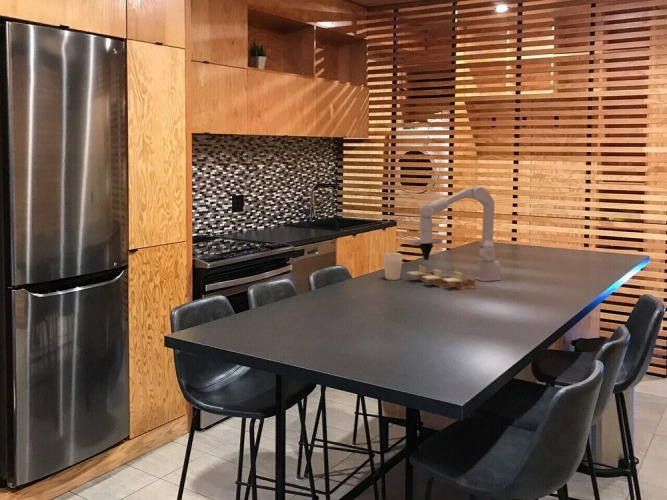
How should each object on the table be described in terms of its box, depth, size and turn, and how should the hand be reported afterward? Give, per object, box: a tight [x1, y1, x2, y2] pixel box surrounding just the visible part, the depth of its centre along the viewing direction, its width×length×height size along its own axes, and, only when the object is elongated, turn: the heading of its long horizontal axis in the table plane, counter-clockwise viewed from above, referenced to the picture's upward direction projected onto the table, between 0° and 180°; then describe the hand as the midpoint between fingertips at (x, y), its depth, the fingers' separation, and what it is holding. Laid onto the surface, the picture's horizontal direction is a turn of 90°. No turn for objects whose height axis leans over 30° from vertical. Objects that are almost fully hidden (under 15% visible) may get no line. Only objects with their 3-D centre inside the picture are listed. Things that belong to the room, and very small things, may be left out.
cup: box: [382, 252, 403, 281], centre depth 321 cm, size 9×9×12 cm
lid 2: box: [422, 268, 443, 280], centre depth 301 cm, size 7×7×3 cm
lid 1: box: [406, 264, 428, 276], centre depth 313 cm, size 7×7×3 cm
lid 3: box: [442, 271, 464, 282], centre depth 294 cm, size 7×7×3 cm
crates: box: [418, 271, 476, 290], centre depth 306 cm, size 15×29×3 cm, turn 15°
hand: (426, 259), depth 314 cm, fingers closed
